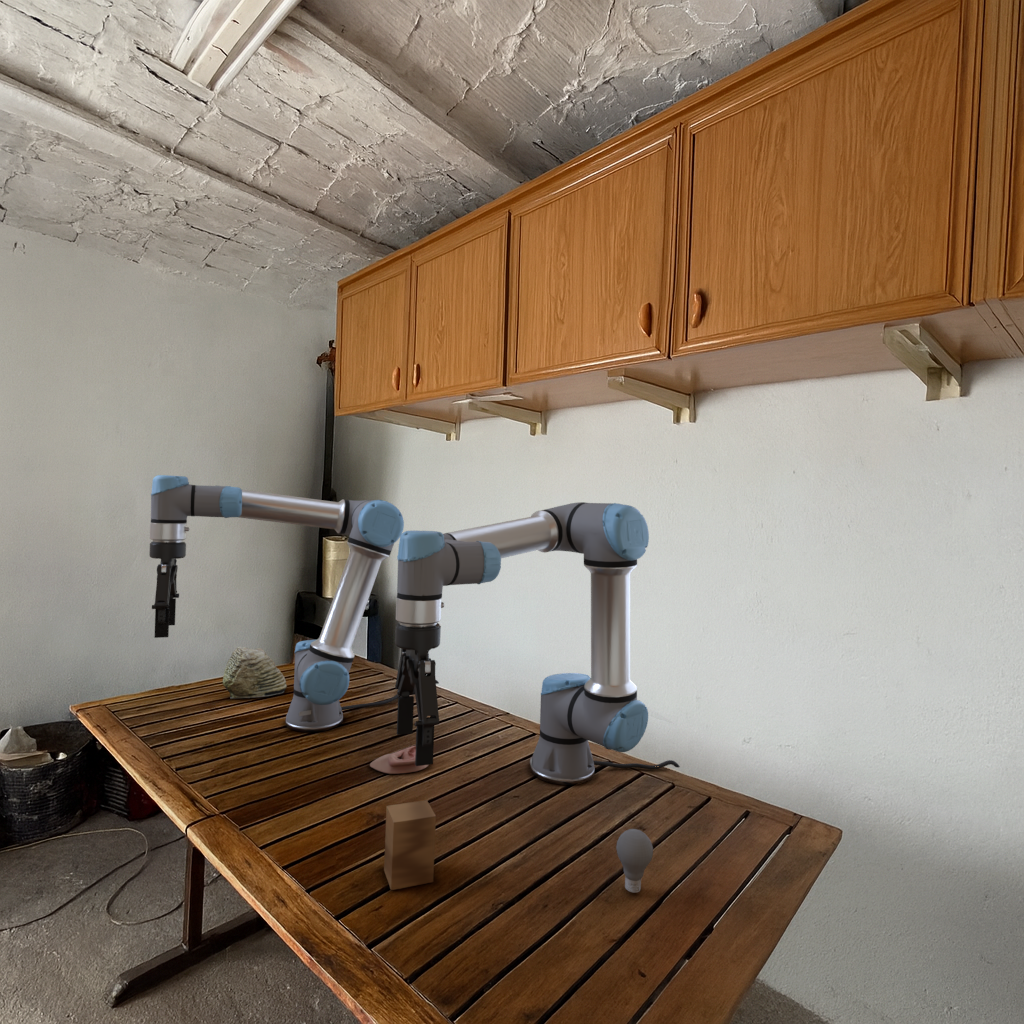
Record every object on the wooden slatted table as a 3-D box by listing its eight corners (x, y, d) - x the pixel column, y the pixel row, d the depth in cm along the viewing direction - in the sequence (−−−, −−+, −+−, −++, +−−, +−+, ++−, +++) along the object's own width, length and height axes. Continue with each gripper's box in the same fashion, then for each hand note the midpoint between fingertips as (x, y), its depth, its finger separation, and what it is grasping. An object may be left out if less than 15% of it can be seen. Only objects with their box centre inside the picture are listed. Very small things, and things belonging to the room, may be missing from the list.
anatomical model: (364, 753, 147) (384, 735, 158) (364, 770, 147) (383, 751, 158) (419, 760, 144) (435, 742, 155) (418, 778, 144) (434, 758, 156)
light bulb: (610, 879, 108) (613, 822, 108) (644, 879, 109) (647, 822, 109) (619, 902, 102) (622, 840, 102) (655, 901, 103) (658, 840, 103)
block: (390, 890, 103) (393, 822, 103) (383, 870, 109) (386, 805, 108) (433, 882, 106) (436, 815, 106) (424, 862, 111) (426, 799, 111)
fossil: (218, 695, 195) (220, 647, 195) (278, 685, 208) (279, 640, 207) (228, 703, 189) (230, 653, 188) (289, 692, 201) (290, 645, 201)
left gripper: (180, 545, 139) (177, 642, 139) (190, 537, 162) (187, 620, 162) (141, 545, 136) (138, 643, 136) (157, 537, 159) (154, 621, 159)
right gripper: (462, 637, 96) (457, 776, 97) (421, 608, 119) (417, 720, 120) (414, 640, 93) (409, 782, 94) (381, 610, 116) (377, 724, 117)
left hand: (165, 631), depth 149 cm, fingers open, 13 cm apart
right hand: (413, 748), depth 107 cm, fingers open, 13 cm apart
